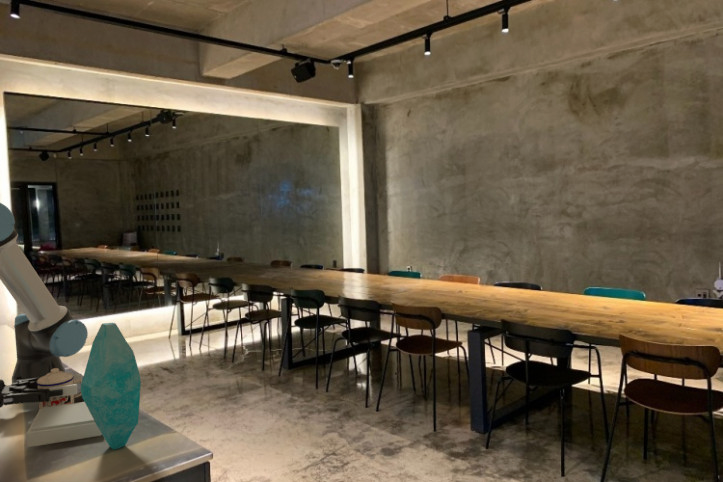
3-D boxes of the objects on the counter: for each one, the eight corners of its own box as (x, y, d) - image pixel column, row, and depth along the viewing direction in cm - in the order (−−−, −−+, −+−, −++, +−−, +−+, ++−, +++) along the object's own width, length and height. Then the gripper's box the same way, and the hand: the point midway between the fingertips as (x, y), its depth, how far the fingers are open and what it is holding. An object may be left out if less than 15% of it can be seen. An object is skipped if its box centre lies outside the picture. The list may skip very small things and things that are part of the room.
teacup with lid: (39, 418, 140) (36, 376, 140) (37, 407, 148) (34, 368, 147) (88, 407, 147) (86, 367, 147) (84, 398, 155) (82, 360, 154)
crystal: (101, 467, 114) (94, 334, 111) (78, 448, 123) (71, 324, 121) (154, 448, 123) (149, 323, 120) (129, 431, 132) (124, 315, 130)
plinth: (40, 421, 139) (39, 406, 138) (106, 411, 144) (106, 397, 144) (27, 447, 124) (26, 431, 123) (101, 435, 130) (100, 420, 129)
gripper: (-3, 395, 151) (84, 384, 159) (-27, 424, 131) (74, 410, 139) (-4, 370, 150) (83, 360, 158) (-29, 395, 130) (73, 383, 138)
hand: (79, 383), depth 149 cm, fingers closed on teacup with lid, 9 cm apart
